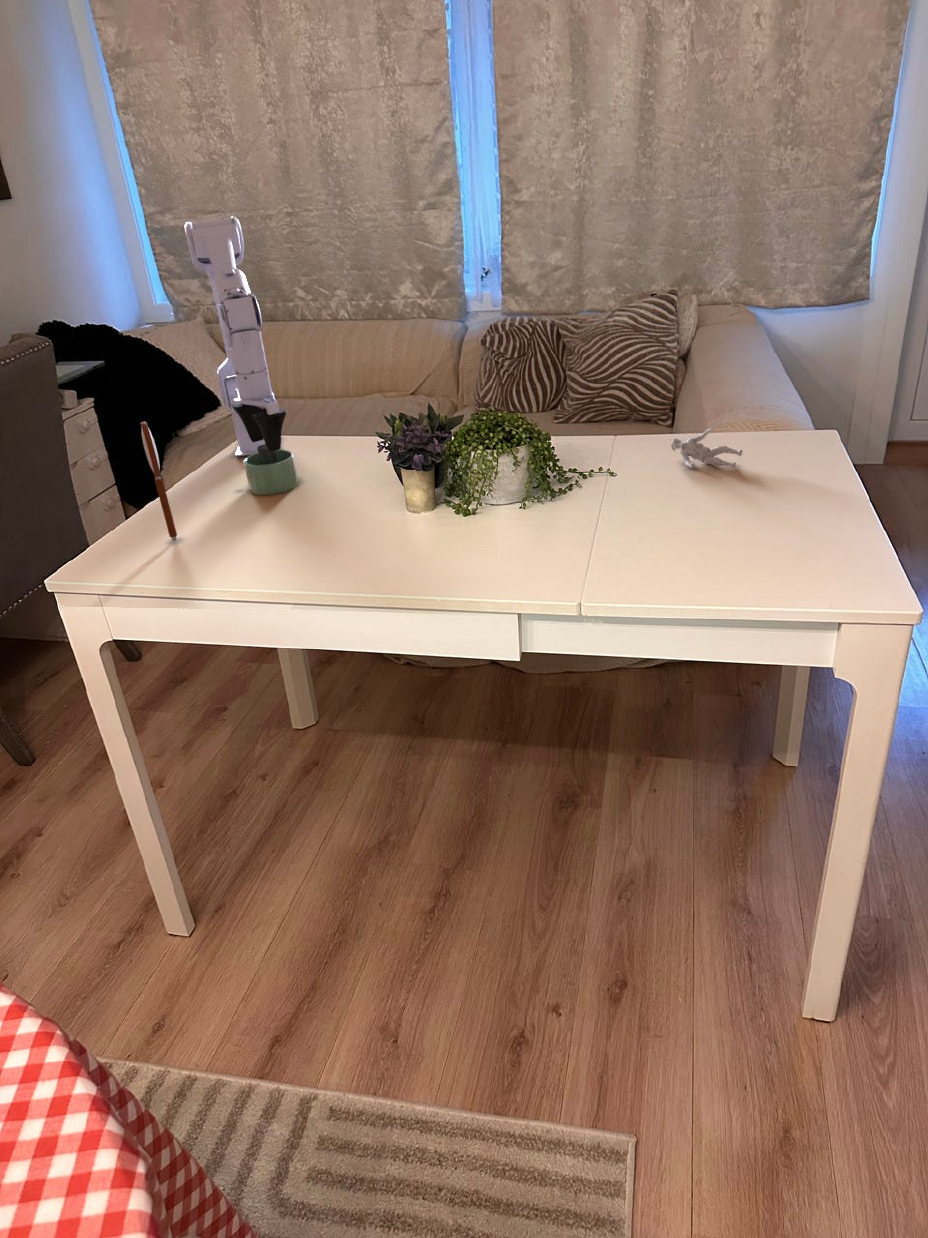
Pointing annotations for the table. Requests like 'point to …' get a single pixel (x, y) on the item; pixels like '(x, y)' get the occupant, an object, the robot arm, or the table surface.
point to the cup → (271, 474)
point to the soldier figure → (703, 451)
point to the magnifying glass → (158, 478)
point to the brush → (266, 455)
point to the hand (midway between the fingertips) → (265, 445)
